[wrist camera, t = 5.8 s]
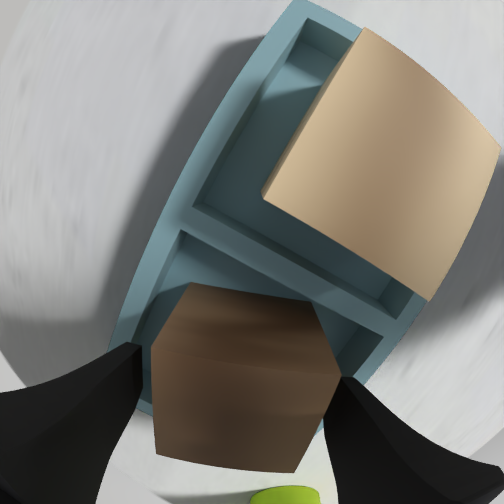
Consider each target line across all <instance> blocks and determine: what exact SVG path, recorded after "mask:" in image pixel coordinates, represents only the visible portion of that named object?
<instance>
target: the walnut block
mask: <svg viewBox="0 0 504 504" xmlns="http://www.w3.org/2000/svg"><path fill="white" fill-rule="evenodd" d="M341 376H342V374H341V372H340V369H339V367H338V364H337V362H336V360H335V357H334V355H333V352H332V350H331V347H330V345H329V343H328V340H327V338H326V335H325V333H324V331H323V328H322V326H321V324H320V321H319V319H318V317H317V314H316V312H315V310H314V307H313V305H312V303H311V302H310V301H303V300H296V299H289V298H283V297H276V296H270V295H264V294H257V293H251V292H245V291H239V290H233V289H228V288H222V287H216V286H211V285H205V284H200V283H194V282H190V284H189V286H188V287H187V289H186V290H185V292H184V294H183V295H182V297H181V298H180V300H179V302H178V303H177V305H176V306H175V308H174V310H173V311H172V313H171V315H170V316H169V318H168V319H167V321H166V323H165V324H164V326H163V328H162V329H161V331H160V333H159V334H158V336H157V338H156V339H155V341H154V343H153V344H152V346H151V383H152V407H153V423H154V436H155V447H156V454H158V455H162V456H166V457H170V458H174V459H179V460H183V461H188V462H193V463H198V464H204V465H210V466H216V467H223V468H230V469H238V470H248V471H259V472H275V473H294V472H295V470H296V469H297V467H298V465H299V463H300V461H301V460H302V458H303V456H304V454H305V452H306V450H307V448H308V447H309V445H310V443H311V441H312V439H313V437H314V435H315V433H316V431H317V429H318V427H319V425H320V423H321V421H322V419H323V416H324V414H325V412H326V410H327V408H328V406H329V403H330V401H331V399H332V397H333V394H334V392H335V390H336V388H337V385H338V383H339V380H340V378H341Z"/></svg>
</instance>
